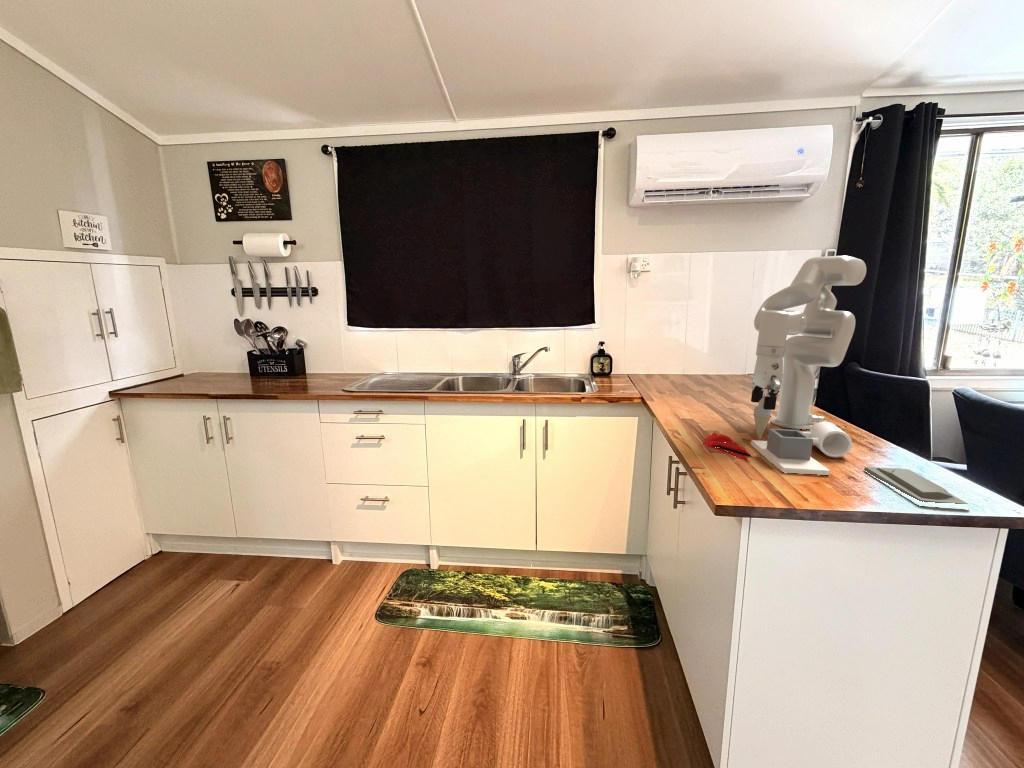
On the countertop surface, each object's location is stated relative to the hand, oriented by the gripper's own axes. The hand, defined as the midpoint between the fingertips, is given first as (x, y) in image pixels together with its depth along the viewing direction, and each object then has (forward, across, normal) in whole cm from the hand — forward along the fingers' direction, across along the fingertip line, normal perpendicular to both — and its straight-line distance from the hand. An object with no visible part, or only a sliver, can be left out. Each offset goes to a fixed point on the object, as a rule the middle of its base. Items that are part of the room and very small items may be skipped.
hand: (762, 405), depth 139 cm
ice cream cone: (+11, +1, -1) cm, 11 cm away
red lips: (+13, -7, +12) cm, 19 cm away
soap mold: (+12, -32, -23) cm, 41 cm away
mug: (+11, -7, -15) cm, 20 cm away
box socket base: (+12, -16, -2) cm, 20 cm away
